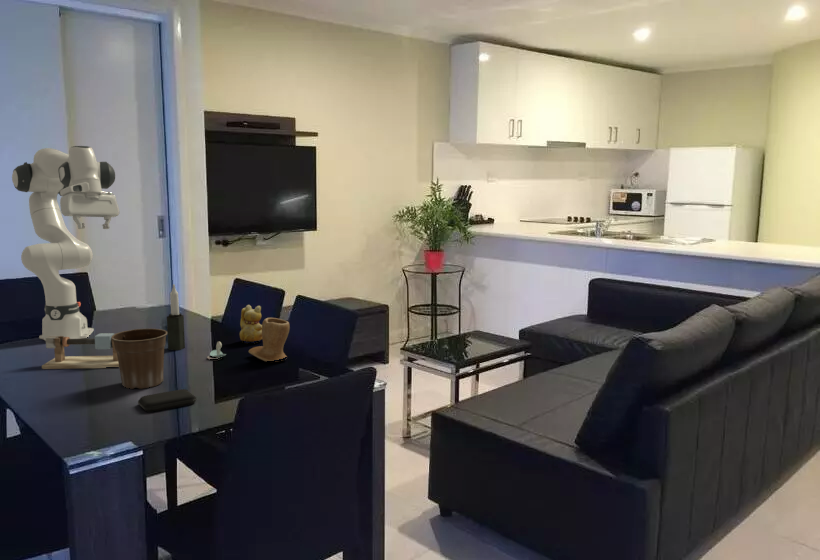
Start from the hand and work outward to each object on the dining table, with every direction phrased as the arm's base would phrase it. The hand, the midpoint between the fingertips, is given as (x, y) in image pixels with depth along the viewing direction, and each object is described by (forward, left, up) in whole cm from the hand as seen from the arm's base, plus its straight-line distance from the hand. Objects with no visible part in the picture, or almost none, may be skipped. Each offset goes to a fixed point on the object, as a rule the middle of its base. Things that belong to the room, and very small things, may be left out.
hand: (94, 228), depth 232 cm
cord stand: (+7, -2, -47) cm, 47 cm away
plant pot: (+32, +24, -47) cm, 62 cm away
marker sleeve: (+7, +4, -41) cm, 42 cm away
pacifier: (+2, +41, -47) cm, 62 cm away
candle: (-13, +23, -47) cm, 54 cm away
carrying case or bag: (+52, +37, -47) cm, 80 cm away
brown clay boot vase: (+4, +61, -47) cm, 77 cm away
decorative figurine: (-21, +50, -47) cm, 72 cm away
